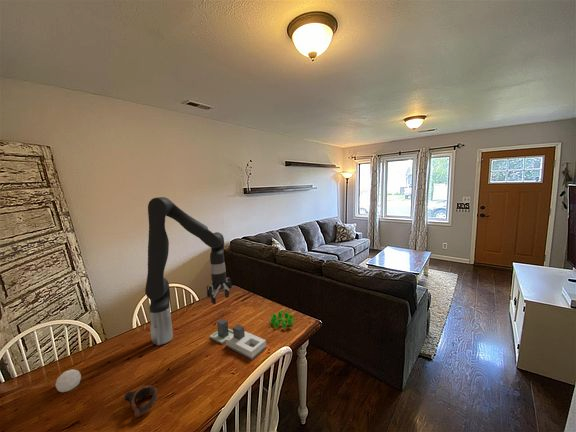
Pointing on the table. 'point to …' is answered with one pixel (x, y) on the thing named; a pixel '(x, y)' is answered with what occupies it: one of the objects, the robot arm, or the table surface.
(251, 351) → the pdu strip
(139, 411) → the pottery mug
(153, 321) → the robot arm
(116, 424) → the table surface
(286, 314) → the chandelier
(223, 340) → the sage tray
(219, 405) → the table surface
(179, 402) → the table surface
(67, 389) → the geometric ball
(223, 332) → the grey rectangular prism
